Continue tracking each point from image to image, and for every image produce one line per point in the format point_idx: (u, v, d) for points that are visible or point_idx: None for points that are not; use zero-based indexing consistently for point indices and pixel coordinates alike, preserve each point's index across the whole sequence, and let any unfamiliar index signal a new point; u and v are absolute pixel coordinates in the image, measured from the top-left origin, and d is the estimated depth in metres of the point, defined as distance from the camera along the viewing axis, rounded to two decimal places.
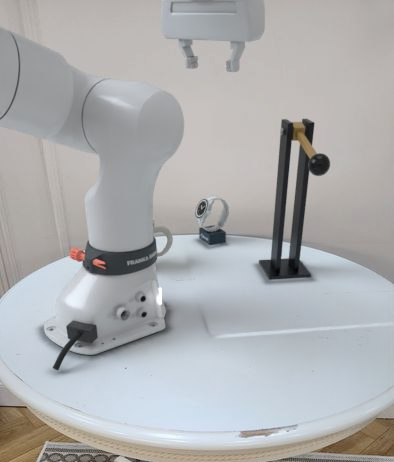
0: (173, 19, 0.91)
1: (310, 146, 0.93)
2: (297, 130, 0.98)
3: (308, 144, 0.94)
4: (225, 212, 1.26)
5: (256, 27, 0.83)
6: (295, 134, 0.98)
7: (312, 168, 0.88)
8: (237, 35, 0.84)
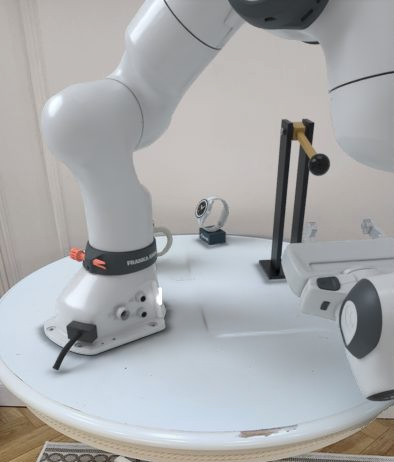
0: None
1: (310, 146, 0.93)
2: (297, 130, 0.98)
3: (308, 144, 0.94)
4: (225, 212, 1.26)
5: (285, 258, 0.79)
6: (295, 134, 0.98)
7: (312, 168, 0.88)
8: (303, 246, 0.78)
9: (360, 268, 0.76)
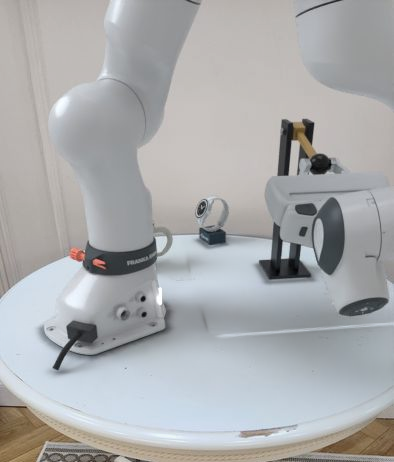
0: (371, 185, 0.85)
1: (310, 146, 0.93)
2: (297, 130, 0.98)
3: (308, 144, 0.94)
4: (225, 212, 1.26)
5: (267, 189, 0.85)
6: (295, 134, 0.98)
7: (312, 168, 0.88)
8: (284, 178, 0.85)
9: None
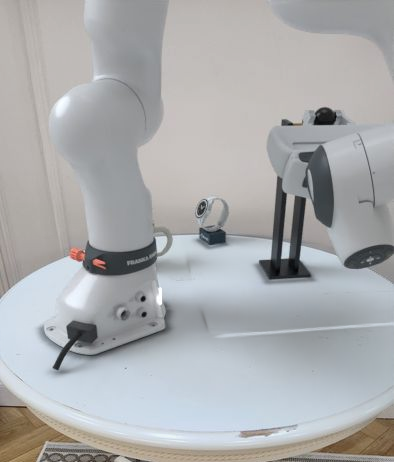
0: None
1: None
2: None
3: None
4: (225, 212, 1.26)
5: (269, 140, 0.82)
6: None
7: (317, 118, 0.85)
8: (287, 128, 0.81)
9: None
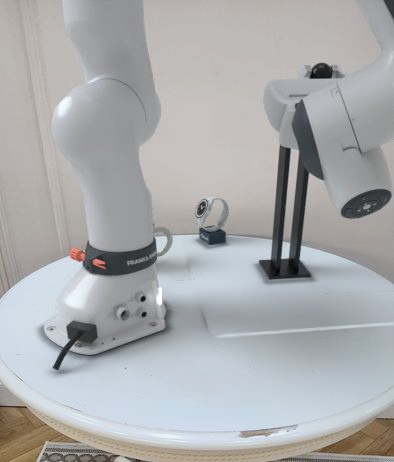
0: None
1: None
2: None
3: None
4: (225, 212, 1.26)
5: (266, 93, 0.82)
6: None
7: (314, 70, 0.85)
8: (284, 81, 0.81)
9: None
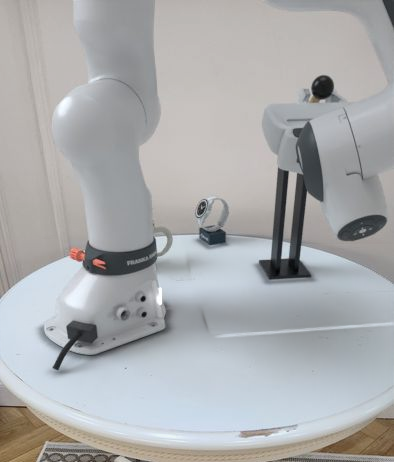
0: None
1: None
2: None
3: None
4: (225, 212, 1.26)
5: (264, 117, 0.84)
6: None
7: (316, 84, 0.84)
8: (282, 105, 0.83)
9: None
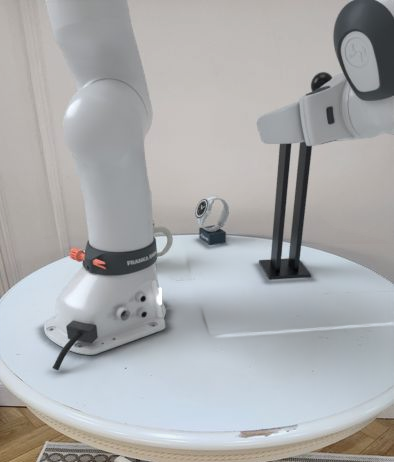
0: None
1: None
2: None
3: None
4: (225, 212, 1.26)
5: (263, 126, 0.75)
6: None
7: (316, 80, 0.84)
8: None
9: None
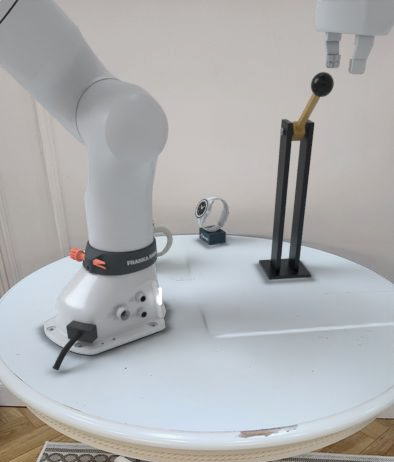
0: (322, 7, 0.78)
1: None
2: (296, 123, 0.98)
3: None
4: (225, 212, 1.26)
5: (377, 17, 0.64)
6: (295, 126, 0.98)
7: (316, 80, 0.84)
8: (357, 26, 0.67)
9: None
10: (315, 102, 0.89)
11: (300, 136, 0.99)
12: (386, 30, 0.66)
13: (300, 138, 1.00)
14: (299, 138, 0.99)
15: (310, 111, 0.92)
